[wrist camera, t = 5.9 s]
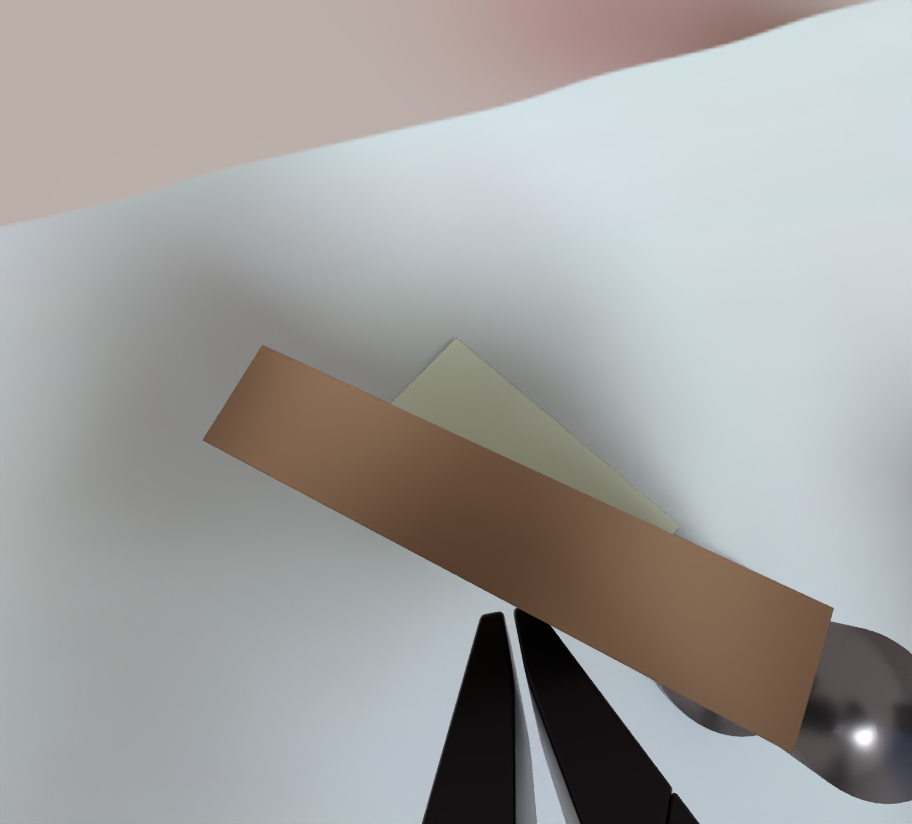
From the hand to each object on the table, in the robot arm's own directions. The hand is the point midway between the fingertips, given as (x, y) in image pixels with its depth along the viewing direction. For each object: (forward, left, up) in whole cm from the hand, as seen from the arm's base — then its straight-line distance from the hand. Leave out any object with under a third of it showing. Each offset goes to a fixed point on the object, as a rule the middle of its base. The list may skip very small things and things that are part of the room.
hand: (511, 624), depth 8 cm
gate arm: (+1, +1, -6) cm, 6 cm away
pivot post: (+2, -6, -7) cm, 9 cm away
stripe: (+4, +1, -7) cm, 8 cm away
